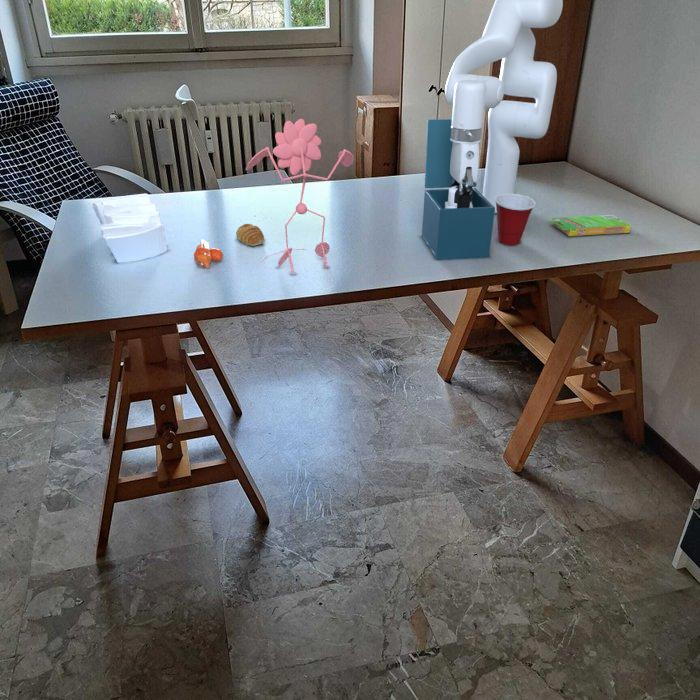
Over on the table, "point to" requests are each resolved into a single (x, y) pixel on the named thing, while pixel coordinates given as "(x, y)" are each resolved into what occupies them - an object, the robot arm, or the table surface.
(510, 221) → the plastic cup
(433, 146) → the cool box lid
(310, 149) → the figurine
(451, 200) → the medicine bottle
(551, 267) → the table surface
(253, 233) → the pastry
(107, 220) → the wavy white extrusion
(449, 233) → the cool box
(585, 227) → the game box
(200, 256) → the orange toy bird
